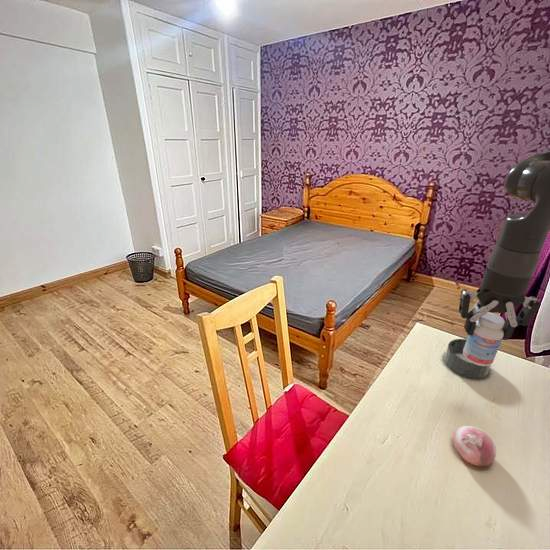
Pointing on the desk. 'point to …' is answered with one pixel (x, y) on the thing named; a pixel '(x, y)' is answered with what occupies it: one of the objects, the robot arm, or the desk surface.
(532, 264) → the robot arm
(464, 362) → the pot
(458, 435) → the onion
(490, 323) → the pill bottle
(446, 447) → the desk surface
